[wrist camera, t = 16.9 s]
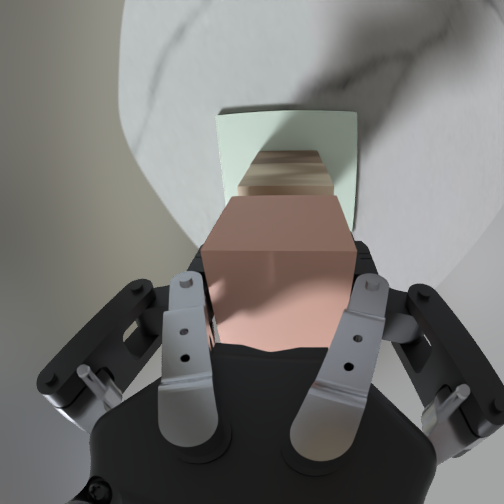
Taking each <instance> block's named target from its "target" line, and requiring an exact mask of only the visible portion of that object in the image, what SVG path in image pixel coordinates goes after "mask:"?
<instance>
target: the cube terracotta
mask: <svg viewBox="0 0 504 504" xmlns="http://www.w3.org/2000/svg"><path fill="white" fill-rule="evenodd" d="M200 252H201V257H202V261H203V266H204V271H205V276H206V280H207V285H208V289H209V294H210V298H211V303H212V307H213V311H214V315H215V319H216V324H217V328H218V332H219V336H220V340H221V343H226V344H240V345H245V346H248V347H252V348H256V349H259V350H263V351H271V352H275V351H281V350H287V349H292V348H298V347H328V350H329V347H330V345H331V342H332V340H333V337H334V335H335V332H336V330H337V327H338V324H339V322H340V319H341V316H342V314H343V311H344V309H347V306H348V303H349V300H350V294H351V288H352V282H353V276H354V270H355V263H356V256H357V249H356V246H355V244H354V241H353V238H352V235H351V232H350V229H349V227H348V224H347V221H346V218H345V216H344V213H343V210H342V208H341V205H340V203H339V200H338V198H337V195H262V196H232V197H231V198H230V200H229V202H228V203H227V205H226V207H225V209H224V210H223V212H222V214H221V215H220V217H219V219H218V220H217V222H216V224H215V226H214V227H213V229H212V231H211V232H210V234H209V236H208V238H207V239H206V241H205V243H204V245H203V246H202V248H201V250H200Z"/></svg>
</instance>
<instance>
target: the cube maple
mask: <svg viewBox="0 0 504 504" xmlns="http://www.w3.org/2000/svg"><path fill="white" fill-rule="evenodd" d="M237 190H238V196H262V195H334V185H333V182H332V180H331V178H330V175H329V173H328V171H327V168H326V166H325V164H324V163H274V164H251V165H250V167H249V168H248V170H247V172H246V173H245V175H244V176H243V178H242V180H241V181H240V183H239V184H238V186H237Z"/></svg>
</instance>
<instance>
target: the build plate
mask: <svg viewBox="0 0 504 504" xmlns="http://www.w3.org/2000/svg"><path fill="white" fill-rule="evenodd" d="M215 119H216V128H217V137H218V146H219V154H220V163H221V171H222V179H223V187H224V195H225V203H226V205H227V203H228V202H229V200H230V198H231V197H232V196H238V190H237V186H238V184H239V183H240V181H241V180H242V178H243V176H244V175H245V173H246V172H247V170H248V168H249V167H250V164H251V163H252V161H253V160H254V158H255V156H256V155H257V153H258V152H259V151H285V150H317V151H318V153H319V155H320V158H321V160H322V162H323V163H324V164H325V166H326V168H327V171H328V173H329V175H330V178H331V180H332V182H333V185H334V195H337V198H338V200H339V203H340V205H341V208H342V210H343V213H344V216H345V218H346V221H347V224H348V227H349V229H350V231H351V232H352V229H353V218H354V205H355V191H356V171H357V112H350V111H329V110H282V111H260V112H246V113H234V114H224V115H217V116H215Z"/></svg>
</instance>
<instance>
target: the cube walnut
mask: <svg viewBox="0 0 504 504" xmlns="http://www.w3.org/2000/svg"><path fill="white" fill-rule="evenodd" d="M274 163H323V162H322V160H321V158H320V155H319V153H318V151H317V150H285V151H259V152H258V153H257V155H256V156H255V158H254V160H253V161H252V163H251V164H274ZM251 164H250V165H251Z"/></svg>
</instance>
